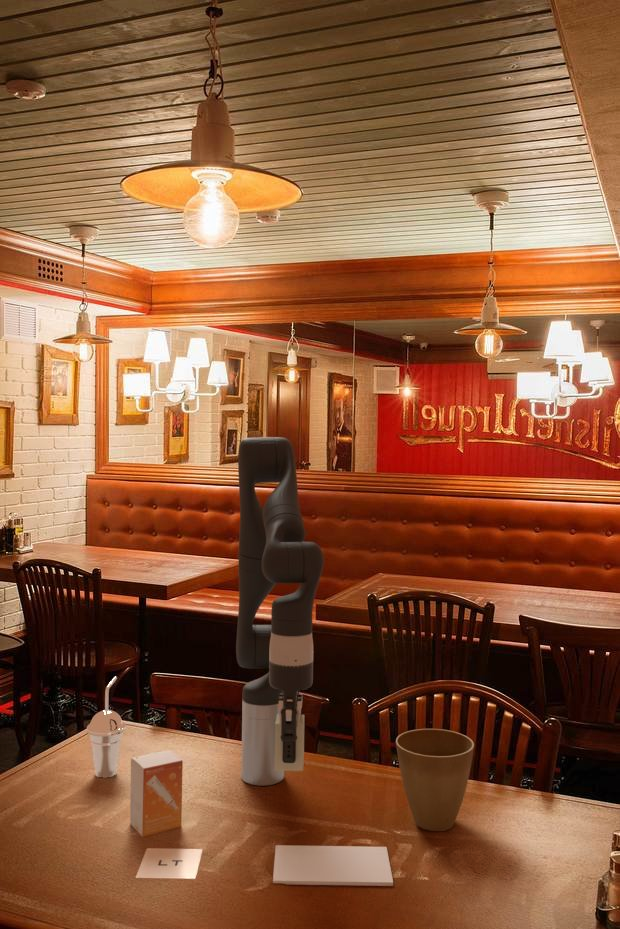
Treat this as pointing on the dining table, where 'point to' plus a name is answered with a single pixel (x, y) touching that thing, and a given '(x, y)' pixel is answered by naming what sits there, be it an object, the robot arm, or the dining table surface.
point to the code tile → (170, 863)
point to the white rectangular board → (332, 865)
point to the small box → (156, 792)
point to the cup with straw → (106, 739)
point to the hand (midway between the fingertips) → (289, 755)
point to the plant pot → (434, 774)
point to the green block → (299, 747)
